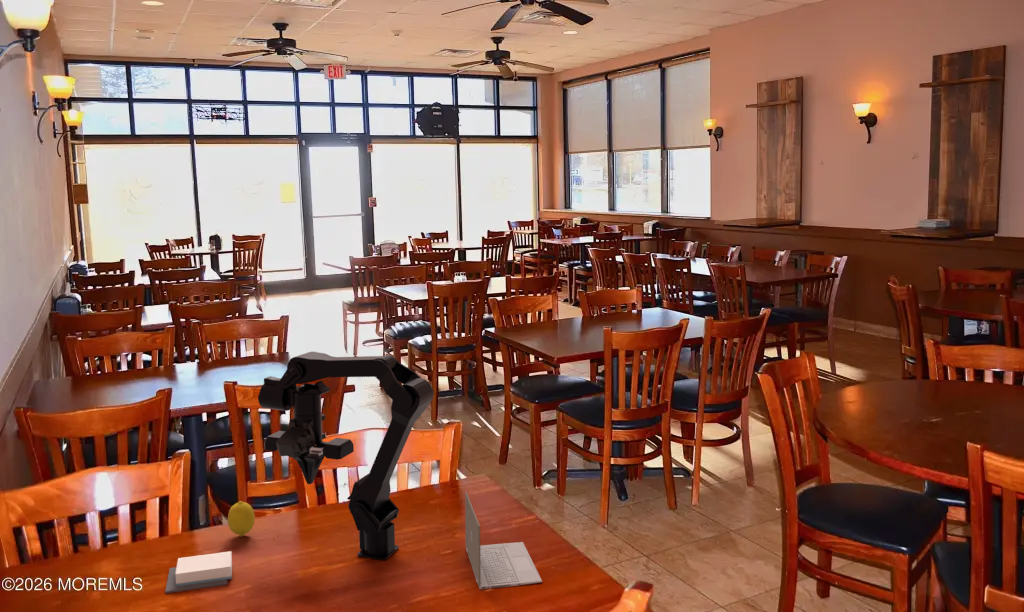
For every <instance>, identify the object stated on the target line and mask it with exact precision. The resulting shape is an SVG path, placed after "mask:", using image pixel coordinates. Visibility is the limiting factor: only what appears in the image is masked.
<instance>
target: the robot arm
mask: <svg viewBox="0 0 1024 612" xmlns="http://www.w3.org/2000/svg"><path fill="white" fill-rule="evenodd" d="M286 366H287V367H286V370H285V372H284V373H283V375H282V376H281V377H276V376H267V377H264V379H263V384H262V385H261V387H260V389H259V392H258V395H257V401H258V403H259V407H261V408H263V409H269V410H278V411H285V412H286V411H290V410H291V409H293V411H292V412H293V413H292V414H293V418H290V420H289V422H288V423H289V426H288V430H286V431H285V430H278V431H277V432H274V433H272V434H270V435H267V436H266V437H265V440H264V442H263V445H264V446H263V447H264V451H269V452H278V454H279V456H281V457H290V458H292V459H293V460H295V461H296V462H297V464H298V465H299V468H300V470H301V473H302V475H303V477H304V480H305V482H306V484H307V485H312V484H314V482H315V479H316V476H317V474H318V472H319V469H320V467H321V465H322V462H323V460H324V459H329V460H336V461H337V460H338V461H339V460H342V459H344V458H345V457H347V456H349V455H351V454H353V453H354V450H355V449H354V442H353V441H352V440H351V439H350V438H341V437H335V438H333V439H332V440H329V441H323V440H324V439H326V438H327V435H326V433H327V432H323V422H324V420H326V414H324V413H323V412H322V395H324V394H327V393H328V392H330V391H331V388H330V387H329V386H328V385H327V384H325V382H324V381H323V380H324V379H327V378H367V377H368V378H371V377H374V378H376V379H377V380H378V381H379V383H380V385H381V387H382V390H383V391H384V393H385V394H386V395H387V396H388V398H390V399H391V400H392V401H391V406H390V412H391V415H390V416H391V420H390V423H389V425H388V427H387V429H386V432H385V434H384V437H383V440H382V441H381V444H380V446H379V449H378V452H377V453H376V456H375V459H374V461H373V463H372V466H371V468H370V471H369V473H367V474H365V475H364V476H362V477H361V478H360V479H358V480H356V481H355V482H354V483H353V485H352V489H351V493H350V495H349V496H348V497H347V500H348V507H347V508H348V510H349V512H350V514H351V515H352V518H353V521H354V524H355V527H356V530H357V531H358V536H359V550H360V551H358V552H357V557H361V558H365V559H366V558H367V559H372V560H379V561H386V560H387V559H388V558H389V557H391V556H392V555H393V553H395V552H396V551H397V550H399V547H400V546H399V544H398V545H396V541H395V540H396V539H395V537H396V535H395V522H393V521H394V520H395V519H397V517H398V515H399V512H400V509H399V508H398V506H397V505H396V504H395V503H394V502H393V501H392V499H391V498H390V494H391V484H390V482H391V478H392V476H393V473H394V471H395V469H396V467H397V464H398V461H399V460H400V456H402V455H401V454H402V452H403V451H404V448H405V446H406V443H407V441H408V439H409V436H410V434H411V431H412V430H413V427H414V425H415V423H416V422H417V420H418V419H419V418H420V417H421V416H422V415H423V414H424V413H425V411H426V409H427V408H428V406H429V405H430V404H431V402H432V401H433V399H434V394H435V391H434V389H433V387H432V385H431V382H429V381H428V380H426V379H424V378H422V377H421V376H420V375H419V374H418V373H417V372H415V371H414V370H413V369H411V368H410V367H407V366H406V365H404V364H403V363H401V362H400V361H399V360H398V359H397V358H396V357H395V356H393V355H390V354H385V355H377V356H376V355H374V356H373V355H371V356H370V355H368V356H332V355H329V354H328V353H325V352H318V351H309V352H306V353H303V354H299V355H295V356H294V357H291V358H290V360H288V362H287V365H286ZM315 381H316V382H315ZM311 382H315V383H311ZM322 413H323V414H322Z"/></svg>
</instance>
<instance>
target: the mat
mask: <svg viewBox="0 0 1024 612" xmlns="http://www.w3.org/2000/svg"><path fill="white" fill-rule="evenodd" d="M176 568H177V566H176V567H175V566H174V567H169V571H168V576H167V581H166V586H165V593H164V594H171V593H178V592H184V591H185V592H187V591H193V590H199V589H206V588H213V587H214V588H215V587H221V586H227V585H228V579H225V580H218V581H211V582H204V583H197V584H190V585H182V586H176V575H175V574H176Z"/></svg>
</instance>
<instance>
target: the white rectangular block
mask: <svg viewBox="0 0 1024 612" xmlns="http://www.w3.org/2000/svg"><path fill="white" fill-rule="evenodd" d="M232 554H233V553H232V550H230V551H229V550H228V551H222V552H215V553H214V552H213V553H209V554H201V555H193V556H185V557H178V558H177V562H176V567H177V568H176V574H175V575H176V586H182V585H190V584H197V583H204V582H211V581H218V580H225V579H227V580H231V579H233V577H232V575H233V573H232V572H233V557H232V556H233V555H232Z"/></svg>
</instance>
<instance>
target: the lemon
mask: <svg viewBox="0 0 1024 612" xmlns="http://www.w3.org/2000/svg"><path fill="white" fill-rule="evenodd" d="M255 517H256V516H255V512H254V509H253V507H252V506H251V504H249V503H248V502H245V501H242V500H240V501H238V502H236V503H234V504H233V505H232V506H231V507H230V509H229V510H228V515H227V524H228V527H229V529H230V531H231V532H232V533H233V534H235V535H238V536H240V537H244V536H245V535H246V534H248V533H249V532H251V530H252V529H253V527H254V525H255V520H256V518H255Z"/></svg>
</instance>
